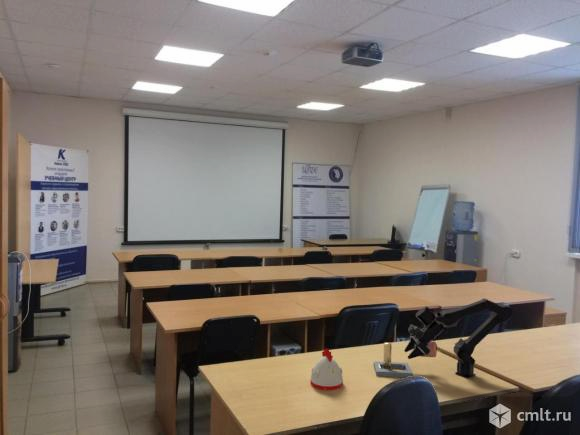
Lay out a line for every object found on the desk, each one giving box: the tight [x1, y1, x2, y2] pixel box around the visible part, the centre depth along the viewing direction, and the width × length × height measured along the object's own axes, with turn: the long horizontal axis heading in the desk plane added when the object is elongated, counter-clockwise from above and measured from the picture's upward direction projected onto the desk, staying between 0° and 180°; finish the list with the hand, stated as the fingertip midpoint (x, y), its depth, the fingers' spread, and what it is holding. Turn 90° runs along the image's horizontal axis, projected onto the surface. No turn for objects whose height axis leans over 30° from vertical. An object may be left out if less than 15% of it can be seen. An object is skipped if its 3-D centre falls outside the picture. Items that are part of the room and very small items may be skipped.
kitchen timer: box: [310, 348, 344, 391], centre depth 195 cm, size 14×14×15 cm
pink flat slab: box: [422, 340, 437, 358], centre depth 243 cm, size 27×10×2 cm, turn 163°
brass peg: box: [381, 341, 394, 370], centre depth 210 cm, size 5×5×13 cm
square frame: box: [373, 360, 413, 378], centre depth 210 cm, size 16×13×2 cm
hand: (406, 354), depth 209 cm, fingers open, 9 cm apart
